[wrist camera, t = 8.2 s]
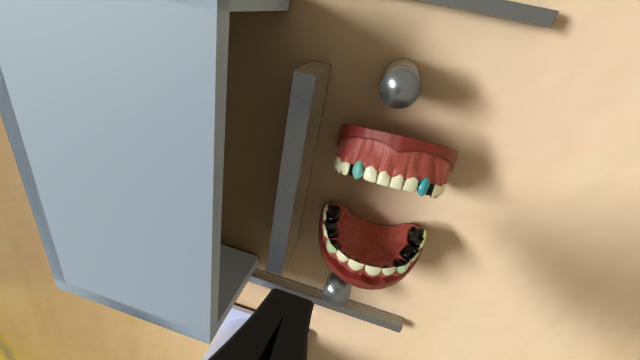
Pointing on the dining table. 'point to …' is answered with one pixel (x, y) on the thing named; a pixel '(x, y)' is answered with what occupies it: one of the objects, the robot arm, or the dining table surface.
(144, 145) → the housing
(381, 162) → the dentures
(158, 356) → the dining table surface
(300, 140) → the pin seat
